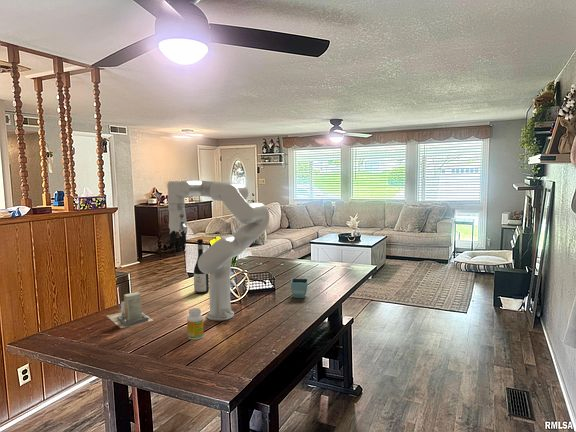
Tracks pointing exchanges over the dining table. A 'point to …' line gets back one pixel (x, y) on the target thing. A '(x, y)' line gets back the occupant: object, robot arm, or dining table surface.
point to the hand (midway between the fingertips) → (178, 243)
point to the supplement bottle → (195, 324)
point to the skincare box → (133, 306)
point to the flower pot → (299, 287)
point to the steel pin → (123, 308)
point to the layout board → (121, 320)
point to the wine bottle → (200, 274)
